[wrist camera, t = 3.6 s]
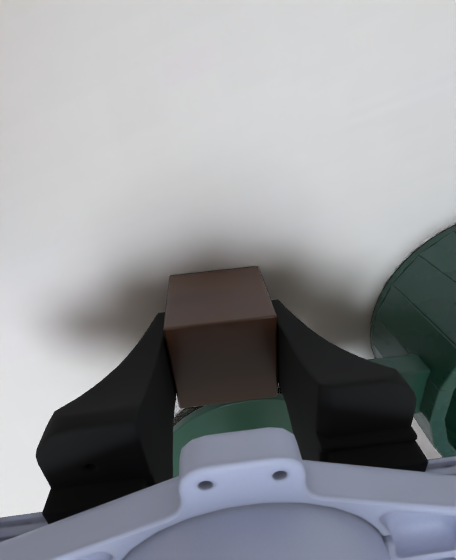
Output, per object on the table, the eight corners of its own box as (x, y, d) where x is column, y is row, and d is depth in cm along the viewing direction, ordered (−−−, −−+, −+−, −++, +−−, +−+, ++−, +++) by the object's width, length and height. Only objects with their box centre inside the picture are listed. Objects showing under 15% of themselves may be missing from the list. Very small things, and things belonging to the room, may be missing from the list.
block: (261, 336, 18) (278, 397, 14) (182, 345, 18) (179, 409, 14) (258, 265, 16) (277, 315, 12) (169, 275, 16) (162, 329, 12)
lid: (334, 493, 25) (369, 592, 20) (172, 515, 25) (167, 622, 20) (349, 372, 19) (402, 467, 15) (139, 398, 19) (120, 505, 14)
